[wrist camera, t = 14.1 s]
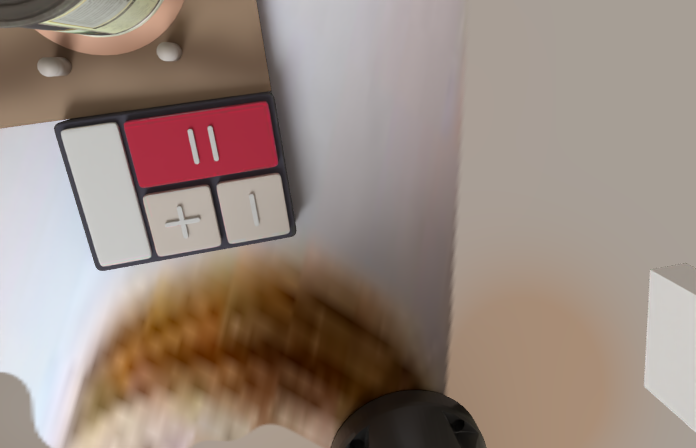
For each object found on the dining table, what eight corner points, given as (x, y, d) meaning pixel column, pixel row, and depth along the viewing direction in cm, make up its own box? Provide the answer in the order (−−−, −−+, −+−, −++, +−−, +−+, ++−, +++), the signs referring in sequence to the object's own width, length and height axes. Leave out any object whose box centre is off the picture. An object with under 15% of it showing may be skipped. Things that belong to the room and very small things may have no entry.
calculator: (298, 239, 40) (93, 276, 38) (293, 223, 44) (108, 256, 42) (274, 92, 37) (47, 125, 35) (271, 89, 41) (68, 118, 39)
